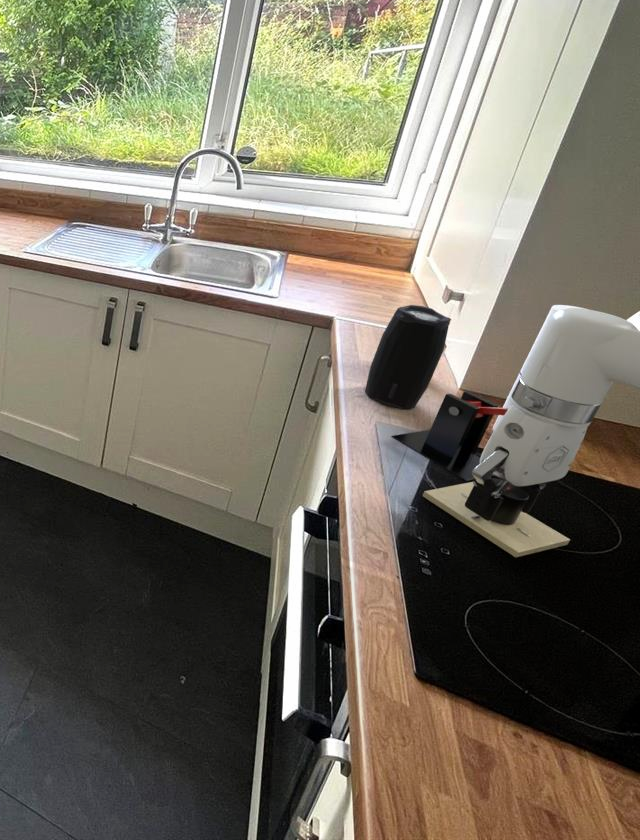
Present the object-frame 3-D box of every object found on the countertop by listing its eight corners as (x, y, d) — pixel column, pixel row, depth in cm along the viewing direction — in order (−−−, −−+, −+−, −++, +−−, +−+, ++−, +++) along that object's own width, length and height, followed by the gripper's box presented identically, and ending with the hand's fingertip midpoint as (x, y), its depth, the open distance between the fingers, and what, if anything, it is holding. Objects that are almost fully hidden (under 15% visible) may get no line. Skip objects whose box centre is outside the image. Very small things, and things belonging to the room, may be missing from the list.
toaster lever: (565, 421, 84) (562, 404, 84) (541, 425, 83) (538, 408, 83) (469, 414, 96) (467, 399, 96) (447, 417, 94) (445, 402, 94)
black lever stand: (504, 479, 93) (536, 417, 89) (463, 487, 91) (494, 424, 87) (426, 435, 104) (452, 378, 99) (388, 441, 102) (412, 383, 97)
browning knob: (487, 500, 85) (500, 474, 83) (522, 522, 81) (538, 494, 79) (465, 505, 84) (479, 479, 82) (501, 527, 80) (516, 500, 78)
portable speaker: (375, 387, 119) (409, 300, 112) (427, 411, 111) (467, 319, 104) (349, 395, 116) (383, 305, 109) (400, 420, 108) (441, 325, 101)
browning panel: (563, 550, 79) (571, 538, 78) (511, 563, 77) (518, 551, 76) (467, 491, 90) (473, 480, 89) (419, 501, 88) (424, 490, 87)
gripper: (540, 425, 70) (480, 539, 77) (636, 410, 74) (571, 519, 81) (472, 393, 77) (422, 500, 84) (563, 381, 81) (509, 483, 88)
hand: (496, 508), depth 82 cm, fingers open, 6 cm apart
